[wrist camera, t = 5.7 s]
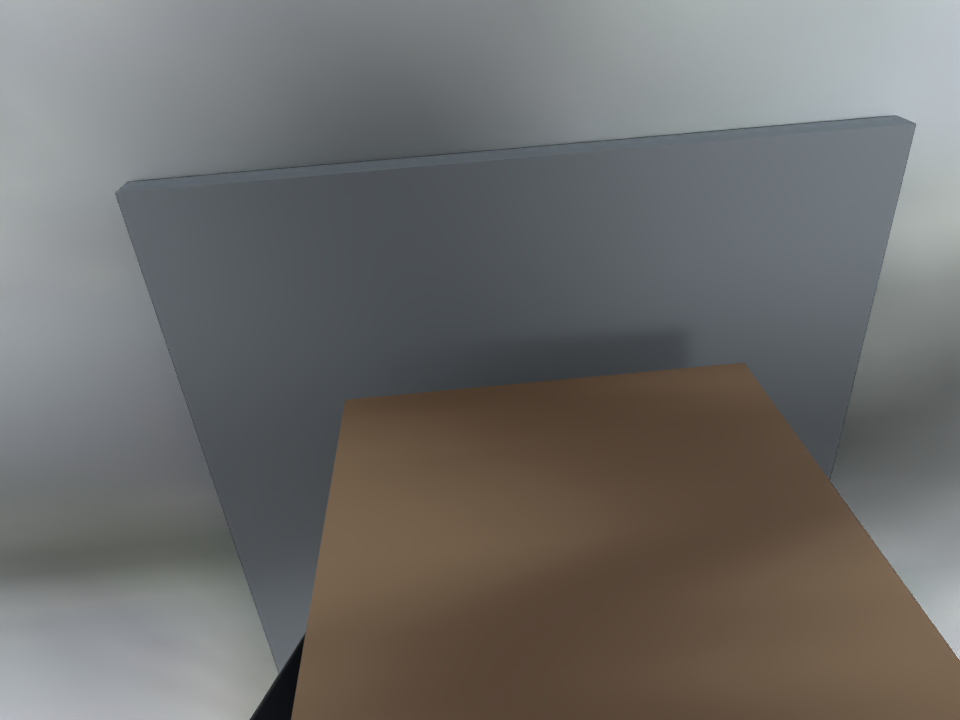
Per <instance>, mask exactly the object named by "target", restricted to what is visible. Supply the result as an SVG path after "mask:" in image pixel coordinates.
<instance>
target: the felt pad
mask: <svg viewBox="0 0 960 720" xmlns="http://www.w3.org/2000/svg"><path fill="white" fill-rule="evenodd" d="M915 127H916V123H913V122H911V121H908V120H906V119H903V118H901V117H899V116H886V117H875V118H863V119H852V120H840V121H829V122H817V123H805V124H794V125H782V126H771V127H759V128H747V129H736V130H724V131H713V132H701V133H689V134H678V135H666V136H655V137H643V138H631V139H620V140H608V141H597V142H585V143H573V144H562V145H550V146H539V147H527V148H515V149H504V150H492V151H481V152H469V153H457V154H446V155H434V156H423V157H411V158H399V159H388V160H376V161H365V162H353V163H341V164H330V165H318V166H307V167H295V168H284V169H272V170H260V171H249V172H237V173H226V174H214V175H202V176H191V177H179V178H168V179H156V180H144V181H133V182H127V183H126V184H125V185H124V186H122V187H121V188H120V189H119V190H118V191H117V192H116V193H115V195H116V197H117V200H118V203H119V206H120V209H121V212H122V215H123V218H124V221H125V224H126V227H127V230H128V233H129V236H130V239H131V241H132V244H133V247H134V250H135V253H136V256H137V259H138V262H139V265H140V268H141V271H142V274H143V277H144V280H145V283H146V285H147V288H148V291H149V294H150V297H151V300H152V303H153V306H154V309H155V312H156V315H157V318H158V321H159V324H160V327H161V329H162V332H163V335H164V338H165V341H166V344H167V347H168V350H169V353H170V356H171V359H172V362H173V365H174V368H175V371H176V373H177V376H178V379H179V382H180V385H181V388H182V391H183V394H184V397H185V400H186V403H187V406H188V409H189V412H190V415H191V417H192V420H193V423H194V426H195V429H196V432H197V435H198V438H199V441H200V444H201V447H202V450H203V453H204V456H205V459H206V461H207V464H208V467H209V470H210V473H211V476H212V479H213V482H214V485H215V488H216V491H217V494H218V497H219V500H220V503H221V505H222V508H223V511H224V514H225V517H226V520H227V523H228V526H229V529H230V532H231V535H232V538H233V541H234V544H235V547H236V549H237V552H238V555H239V558H240V561H241V564H242V567H243V570H244V573H245V576H246V579H247V582H248V585H249V588H250V591H251V593H252V596H253V599H254V602H255V605H256V608H257V611H258V614H259V617H260V620H261V623H262V626H263V629H264V632H265V635H266V637H267V640H268V643H269V646H270V649H271V652H272V655H273V658H274V661H275V664H276V667H277V670H278V673H280V671H281V670H282V668H283V667H284V665H285V664H286V662H287V660H288V659H289V657H290V656H291V654H292V653H293V651H294V649H295V648H296V646H297V645H298V643H299V642H300V640H301V638H302V637H303V635H304V634H305V632H306V628H307V622H308V616H309V610H310V604H311V598H312V592H313V586H314V581H315V575H316V569H317V563H318V557H319V551H320V545H321V539H322V533H323V527H324V521H325V515H326V509H327V504H328V498H329V492H330V486H331V480H332V474H333V468H334V462H335V456H336V450H337V444H338V438H339V432H340V426H341V421H342V415H343V409H344V403H345V400H347V399H358V398H368V397H379V396H390V395H401V394H412V393H422V392H433V391H444V390H455V389H465V388H476V387H487V386H498V385H508V384H519V383H530V382H541V381H551V380H562V379H573V378H584V377H595V376H605V375H616V374H627V373H638V372H648V371H659V370H670V369H681V368H691V367H702V366H713V365H724V364H735V363H745V364H746V366H747V367H748V369H749V370H750V371H751V373H752V374H753V376H754V377H755V378H756V380H757V381H758V382H759V384H760V385H761V387H762V388H763V389H764V391H765V392H766V394H767V395H768V396H769V398H770V399H771V400H772V402H773V403H774V405H775V406H776V407H777V409H778V410H779V412H780V413H781V414H782V416H783V417H784V418H785V420H786V421H787V423H788V424H789V425H790V427H791V428H792V429H793V431H794V432H795V434H796V435H797V436H798V438H799V439H800V441H801V442H802V443H803V445H804V446H805V447H806V449H807V450H808V452H809V453H810V454H811V456H812V457H813V459H814V460H815V461H816V463H817V464H818V465H819V467H820V468H821V470H822V471H823V472H824V474H825V475H826V477H827V478H828V479H829V481H830V478H831V473H832V469H833V465H834V461H835V457H836V453H837V449H838V445H839V440H840V436H841V432H842V428H843V424H844V420H845V416H846V411H847V407H848V403H849V399H850V395H851V391H852V387H853V383H854V378H855V374H856V370H857V366H858V362H859V358H860V354H861V350H862V345H863V341H864V337H865V333H866V329H867V325H868V321H869V317H870V312H871V308H872V304H873V300H874V296H875V292H876V288H877V283H878V279H879V275H880V271H881V267H882V263H883V259H884V255H885V250H886V246H887V242H888V238H889V234H890V230H891V226H892V222H893V217H894V213H895V209H896V205H897V201H898V197H899V193H900V189H901V184H902V180H903V176H904V172H905V168H906V164H907V160H908V155H909V151H910V147H911V143H912V139H913V135H914V131H915Z"/></svg>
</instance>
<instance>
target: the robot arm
mask: <svg viewBox="0 0 960 720" xmlns="http://www.w3.org/2000/svg"><path fill="white" fill-rule="evenodd" d="M305 634H306V632H305ZM305 634H304V635H303V637H302V638H301V640H300V642H299V643H298V645H297V646H296V648H295V649H294V651H293V653H292V654H291V656H290V657H289V659H288V660H287V662H286V664H285V665H284V667H283V668H282V670H281V671H280V673H279V675H278V676H277V678H276V679H275V681H274V682H273V684H272V686H271V687H270V689H269V690H268V692H267V693H266V695H265V697H264V698H263V700H262V701H261V703H260V705H259V706H258V708H257V709H256V711H255V712H254V714H253V716H252V717H251V719H250V720H291V717H292V711H293V705H294V699H295V693H296V687H297V681H298V675H299V669H300V664H301V658H302V652H303V646H304V640H305Z"/></svg>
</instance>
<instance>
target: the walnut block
mask: <svg viewBox="0 0 960 720" xmlns="http://www.w3.org/2000/svg"><path fill="white" fill-rule="evenodd" d="M291 720H960V660H959V659H958V658H957V656H956V655H955V654H954V652H953V651H952V649H951V648H950V647H949V645H948V644H947V642H946V641H945V640H944V638H943V637H942V636H941V634H940V633H939V631H938V630H937V629H936V627H935V626H934V624H933V623H932V622H931V620H930V619H929V618H928V616H927V615H926V613H925V612H924V611H923V609H922V608H921V607H920V605H919V604H918V602H917V601H916V600H915V598H914V597H913V595H912V594H911V593H910V591H909V590H908V589H907V587H906V586H905V584H904V583H903V582H902V580H901V579H900V577H899V576H898V575H897V573H896V572H895V571H894V569H893V568H892V566H891V565H890V564H889V562H888V561H887V559H886V558H885V557H884V555H883V554H882V553H881V551H880V550H879V548H878V547H877V546H876V544H875V543H874V542H873V540H872V539H871V537H870V536H869V535H868V533H867V532H866V530H865V529H864V528H863V526H862V525H861V524H860V522H859V521H858V519H857V518H856V517H855V515H854V514H853V512H852V511H851V510H850V508H849V507H848V506H847V504H846V503H845V501H844V500H843V499H842V497H841V496H840V494H839V493H838V492H837V490H836V489H835V488H834V486H833V485H832V483H831V482H830V481H829V479H828V478H827V477H826V475H825V474H824V472H823V471H822V470H821V468H820V467H819V465H818V464H817V463H816V461H815V460H814V459H813V457H812V456H811V454H810V453H809V452H808V450H807V449H806V447H805V446H804V445H803V443H802V442H801V441H800V439H799V438H798V436H797V435H796V434H795V432H794V431H793V429H792V428H791V427H790V425H789V424H788V423H787V421H786V420H785V418H784V417H783V416H782V414H781V413H780V412H779V410H778V409H777V407H776V406H775V405H774V403H773V402H772V400H771V399H770V398H769V396H768V395H767V394H766V392H765V391H764V389H763V388H762V387H761V385H760V384H759V382H758V381H757V380H756V378H755V377H754V376H753V374H752V373H751V371H750V370H749V369H748V367H747V366H746V364H745V363H735V364H724V365H713V366H702V367H691V368H681V369H670V370H659V371H648V372H638V373H627V374H616V375H605V376H595V377H584V378H573V379H562V380H551V381H541V382H530V383H519V384H508V385H498V386H487V387H476V388H465V389H455V390H444V391H433V392H422V393H412V394H401V395H390V396H379V397H368V398H358V399H347V400H345V403H344V409H343V415H342V421H341V426H340V432H339V438H338V444H337V450H336V456H335V462H334V468H333V474H332V480H331V486H330V492H329V498H328V504H327V509H326V515H325V521H324V527H323V533H322V539H321V545H320V551H319V557H318V563H317V569H316V575H315V581H314V586H313V592H312V598H311V604H310V610H309V616H308V622H307V628H306V634H305V640H304V646H303V652H302V658H301V664H300V669H299V675H298V681H297V687H296V693H295V699H294V705H293V711H292V717H291Z"/></svg>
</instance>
